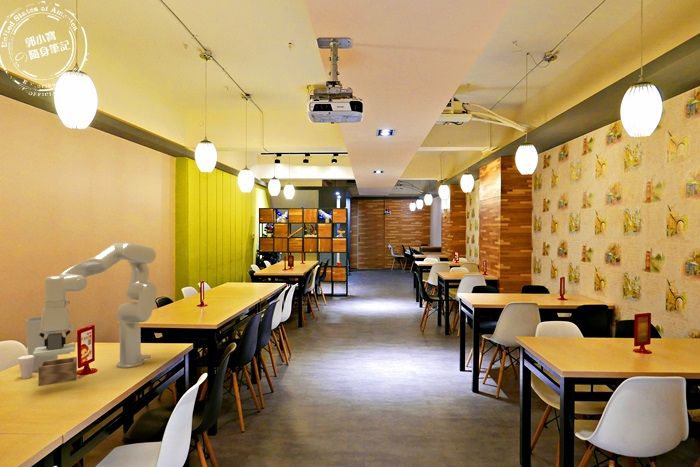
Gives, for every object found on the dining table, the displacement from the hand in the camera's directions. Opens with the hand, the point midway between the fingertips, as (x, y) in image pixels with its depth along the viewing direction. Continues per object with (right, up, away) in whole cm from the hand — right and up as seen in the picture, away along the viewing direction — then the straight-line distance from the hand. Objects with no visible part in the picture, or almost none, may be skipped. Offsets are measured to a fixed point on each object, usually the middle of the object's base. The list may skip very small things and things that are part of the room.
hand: (55, 346), depth 186 cm
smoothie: (-24, -19, +15) cm, 34 cm away
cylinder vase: (-26, -19, +29) cm, 43 cm away
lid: (0, -2, 0) cm, 2 cm away
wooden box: (-7, -18, +12) cm, 23 cm away
